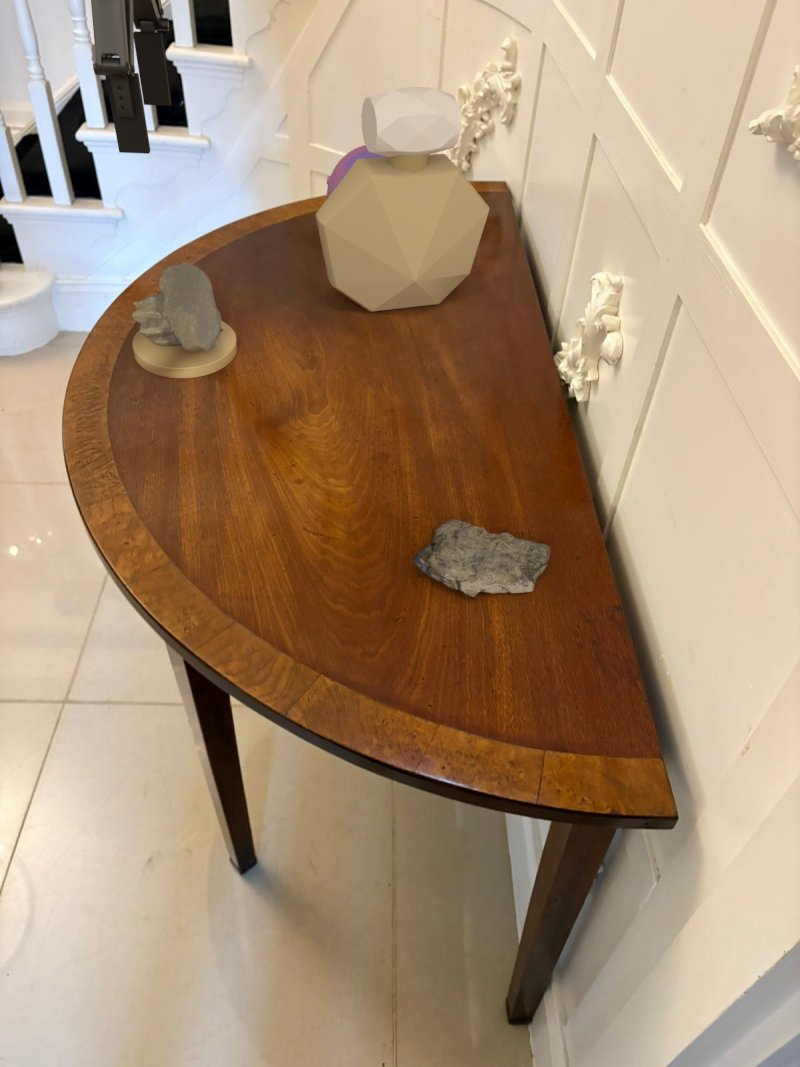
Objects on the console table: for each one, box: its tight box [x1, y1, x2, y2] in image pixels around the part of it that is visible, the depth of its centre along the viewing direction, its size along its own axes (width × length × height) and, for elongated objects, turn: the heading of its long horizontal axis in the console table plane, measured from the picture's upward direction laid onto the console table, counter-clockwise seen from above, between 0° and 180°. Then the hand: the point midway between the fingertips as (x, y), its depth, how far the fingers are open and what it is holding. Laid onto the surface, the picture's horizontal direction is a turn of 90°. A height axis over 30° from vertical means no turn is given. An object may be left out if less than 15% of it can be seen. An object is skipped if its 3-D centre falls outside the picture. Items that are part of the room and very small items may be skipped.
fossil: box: [131, 261, 223, 352], centre depth 98 cm, size 14×10×10 cm
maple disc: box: [132, 320, 238, 379], centre depth 101 cm, size 13×13×2 cm
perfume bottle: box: [315, 86, 491, 313], centre depth 105 cm, size 12×24×28 cm, turn 108°
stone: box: [412, 518, 552, 598], centre depth 77 cm, size 14×8×3 cm, turn 76°
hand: (147, 126), depth 78 cm, fingers open, 13 cm apart
